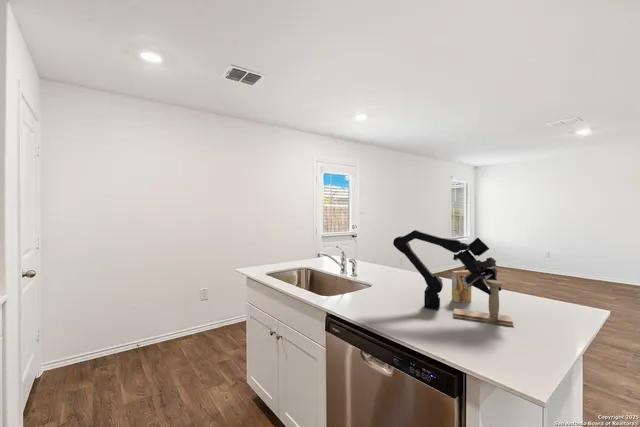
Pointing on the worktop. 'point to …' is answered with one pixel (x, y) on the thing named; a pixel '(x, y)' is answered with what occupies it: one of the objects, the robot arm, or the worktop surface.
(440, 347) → the worktop surface
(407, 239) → the robot arm
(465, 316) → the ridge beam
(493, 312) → the handle
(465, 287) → the candy box
